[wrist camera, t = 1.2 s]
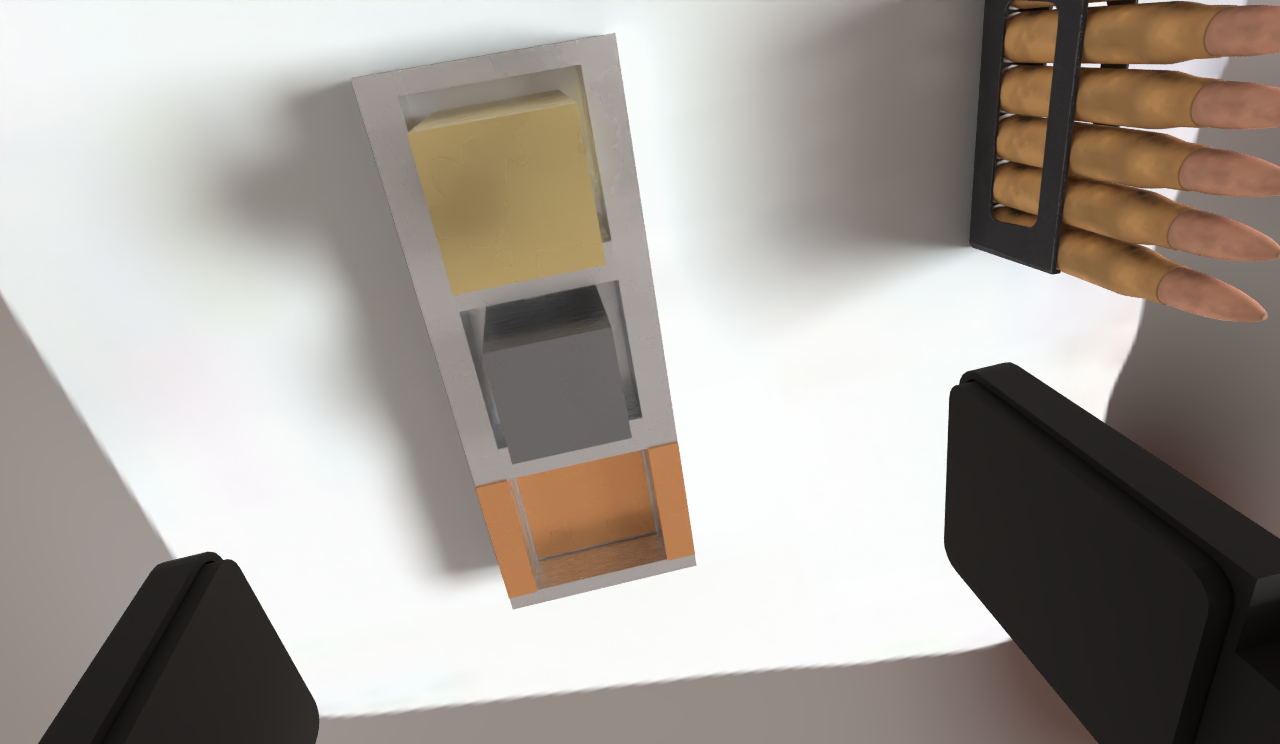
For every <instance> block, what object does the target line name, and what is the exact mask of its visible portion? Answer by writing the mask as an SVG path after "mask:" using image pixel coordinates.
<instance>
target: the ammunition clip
mask: <svg viewBox="0 0 1280 744" xmlns="http://www.w3.org/2000/svg"><path fill="white" fill-rule="evenodd" d="M1104 1H1107V5H1108V6H1098V7H1088V3H1093V2H1104ZM1053 6H1056V8H1057V9H1054V10H1052V8H1053ZM1279 52H1280V6H1267V5H1249V6H1237V5H1206V4H1201V3H1196V2H1187V1H1171V2H1157V3H1142V4H1138V0H985V8H984V24H983V39H982V55H981V70H980V85H979V101H978V116H977V132H976V147H975V162H974V178H973V193H972V209H971V224H970V240H969V243H970V244H971V246H972V247H973V248H976V249H979V250H982V251H985V252H988V253H991V254H994V255H996V256H999V257H1002V258H1005V259H1008V260H1011V261H1014V262H1017V263H1020V264H1023V265H1026V266H1029V267H1032V268H1035V269H1038V270H1041V271H1044V272H1046V273H1049V274H1058V273H1060V272H1061V271H1062V272H1064V273H1067V274H1069V275H1072V276H1075V277H1077V278H1080V279H1082V280H1085V281H1087V282H1090V283H1093V284H1095V285H1098V286H1100V287H1103V288H1105V289H1108V290H1111V291H1113V292H1116V293H1118V294H1121V295H1125V296H1131V297H1138V298H1145V299H1148V300H1151V301H1154V302H1157V303H1160V304H1163V305H1169V306H1172V307H1175V308H1178V309H1180V310H1183V311H1186V312H1189V313H1192V314H1196V315H1201V316H1205V317H1208V318H1214V319H1219V320H1226V321H1236V322H1256V321H1263V320H1265V319H1267V317H1268V315H1267V313H1266V311H1265V310H1264V309H1263V308H1262V307H1261V306H1260V304H1258V303H1257V302H1256V301H1255V300H1254V299H1252V298H1251V297H1249V296H1248V295H1246V294H1245V293H1243V292H1242V291H1240V290H1238V289H1236V288H1235V287H1233V286H1231V285H1229V284H1227V283H1225V282H1223V281H1221V280H1218V279H1216V278H1214V277H1211V276H1209V275H1207V274H1204V273H1201V272H1199V271H1196V270H1192V269H1190V268H1188V267H1186V266H1184V265H1182V264H1179V263H1176V262H1174V261H1171V260H1168V259H1166V258H1165V257H1163V256H1161V255H1160V254H1158V253H1156V252H1155V251H1153V250H1151V249H1149V248H1147V247H1144V246H1141V245H1138V244H1144V245H1156V246H1160V247H1164V248H1168V249H1173V250H1181V251H1185V252H1188V253H1192V254H1196V255H1199V256H1204V257H1210V258H1216V259H1222V260H1233V261H1267V260H1274V259H1278V258H1280V246H1279V245H1278V244H1277V243H1276V242H1275V241H1274V240H1272V239H1271V238H1269V237H1268V236H1266V235H1264V234H1262V233H1261V232H1259V231H1257V230H1255V229H1253V228H1251V227H1249V226H1247V225H1245V224H1242V223H1240V222H1237V221H1235V220H1232V219H1229V218H1226V217H1224V216H1221V215H1217V214H1213V213H1209V212H1205V211H1201V210H1199V209H1197V208H1194V207H1191V206H1187V205H1184V204H1180V203H1177V202H1174V201H1172V200H1170V199H1168V198H1166V197H1164V196H1162V195H1160V194H1158V193H1155V192H1152V191H1148V190H1143V189H1139V188H1169V189H1175V190H1182V191H1195V192H1200V193H1205V194H1211V195H1222V196H1234V197H1260V196H1275V195H1280V167H1279V166H1277V165H1274V164H1272V163H1270V162H1268V161H1265V160H1262V159H1259V158H1257V157H1253V156H1250V155H1246V154H1242V153H1238V152H1234V151H1229V150H1222V149H1216V148H1211V147H1209V146H1204V145H1200V144H1195V143H1189V142H1185V141H1183V140H1181V139H1178V138H1176V137H1173V136H1171V135H1168V134H1163V133H1157V132H1149V131H1142V130H1134V129H1127V128H1119V127H1120V126H1127V127H1136V128H1144V129H1167V128H1175V127H1194V128H1207V127H1209V128H1221V129H1261V128H1272V127H1279V126H1280V88H1278V87H1273V86H1268V85H1262V84H1256V83H1249V82H1235V81H1224V80H1222V79H1212V78H1201V77H1196V76H1193V75H1190V74H1187V73H1183V72H1179V71H1169V70H1142V69H1128V66H1129V64H1174V63H1179V62H1184V61H1188V60H1193V59H1206V58H1221V57H1232V56H1255V55H1264V54H1273V53H1279ZM1047 63H1054V64H1053V66H1046V65H1047ZM1081 63H1093V64H1101V67H1100V68H1086V67H1081ZM1043 117H1047V118H1043ZM1074 121H1083V122H1091V123H1093V124H1089V123H1081V122H1074ZM1112 182H1113V183H1112ZM1121 184H1122V185H1121ZM1125 185H1127V186H1125ZM1130 186H1132V187H1130ZM1134 187H1137V188H1134Z"/></svg>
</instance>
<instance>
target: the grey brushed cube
mask: <svg viewBox="0 0 1280 744" xmlns="http://www.w3.org/2000/svg"><path fill="white" fill-rule="evenodd" d="M482 356H483V360H484V364H485V367H486V371H487V374H488V378H489V382H490V385H491V389H492V393H493V396H494V400H495V404H496V407H497V411H498V414H499V418H500V422H501V425H502V429H503V433H504V436H505V440H506V444H507V447H508V451H509V454H510V458H511V462H512V465H513V464H517V463H522V462H526V461H531V460H535V459H540V458H544V457H549V456H553V455H558V454H562V453H567V452H571V451H576V450H580V449H585V448H589V447H594V446H598V445H603V444H607V443H612V442H616V441H621V440H625V439H630V438H632V435H631V430H630V424H629V419H628V414H627V408H626V403H625V397H624V392H623V386H622V381H621V376H620V370H619V365H618V359H617V354H616V348H615V343H614V338H613V332H612V327H611V324H610V322H609V319H608V316H607V314H606V311H605V308H604V306H603V303H602V300H601V298H600V295H599V292H598V290H597V287H596V286H592V287H587V288H582V289H577V290H572V291H567V292H562V293H557V294H552V295H547V296H542V297H537V298H532V299H527V300H522V301H517V302H512V303H508V304H503V305H498V306H493V307H488V308H486V312H485V324H484V335H483V347H482Z"/></svg>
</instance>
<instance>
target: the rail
mask: <svg viewBox="0 0 1280 744" xmlns="http://www.w3.org/2000/svg"><path fill="white" fill-rule="evenodd" d="M350 79H351V83H352V86H353V89H354V92H355V96H356V99H357V102H358V105H359V109H360V112H361V115H362V119H363V122H364V125H365V128H366V132H367V135H368V138H369V141H370V145H371V148H372V151H373V154H374V158H375V161H376V164H377V167H378V171H379V174H380V177H381V180H382V184H383V187H384V190H385V194H386V197H387V200H388V203H389V207H390V210H391V213H392V216H393V220H394V223H395V226H396V229H397V233H398V236H399V239H400V242H401V246H402V249H403V252H404V255H405V259H406V262H407V265H408V269H409V272H410V275H411V278H412V282H413V285H414V288H415V291H416V295H417V298H418V301H419V304H420V308H421V311H422V314H423V317H424V321H425V324H426V327H427V330H428V334H429V337H430V340H431V344H432V347H433V350H434V353H435V357H436V360H437V363H438V366H439V370H440V373H441V376H442V379H443V383H444V386H445V389H446V392H447V396H448V399H449V402H450V405H451V409H452V412H453V415H454V419H455V422H456V425H457V428H458V432H459V435H460V438H461V441H462V445H463V448H464V451H465V454H466V458H467V461H468V464H469V467H470V471H471V474H472V477H473V480H474V484H475V489H476V492H477V495H478V499H479V502H480V505H481V508H482V512H483V515H484V518H485V521H486V525H487V528H488V531H489V534H490V538H491V541H492V544H493V547H494V551H495V554H496V557H497V560H498V564H499V567H500V570H501V573H502V577H503V580H504V583H505V586H506V590H507V593H508V596H509V598H510V601H511V604H512V608H513V609H517V608H521V607H525V606H529V605H533V604H538V603H542V602H546V601H550V600H554V599H558V598H563V597H567V596H571V595H575V594H579V593H583V592H588V591H592V590H596V589H600V588H604V587H608V586H613V585H617V584H621V583H625V582H629V581H633V580H638V579H642V578H646V577H650V576H654V575H658V574H663V573H667V572H671V571H675V570H679V569H683V568H688V567H692V566H696V560H695V552H694V545H693V538H692V532H691V525H690V519H689V512H688V506H687V499H686V492H685V486H684V479H683V473H682V466H681V460H680V453H679V446H678V442H677V436H676V429H675V423H674V416H673V409H672V403H671V396H670V390H669V383H668V377H667V370H666V363H665V357H664V350H663V344H662V337H661V331H660V324H659V318H658V311H657V304H656V298H655V291H654V285H653V278H652V272H651V265H650V258H649V252H648V245H647V239H646V232H645V226H644V219H643V213H642V206H641V199H640V193H639V186H638V180H637V173H636V167H635V160H634V153H633V147H632V140H631V134H630V127H629V121H628V114H627V108H626V101H625V94H624V88H623V81H622V75H621V68H620V62H619V55H618V48H617V42H616V35H615V33H613V34H607V35H601V36H595V37H589V38H583V39H578V40H572V41H566V42H560V43H554V44H548V45H542V46H537V47H531V48H525V49H519V50H513V51H507V52H501V53H496V54H490V55H484V56H478V57H472V58H466V59H460V60H455V61H449V62H443V63H437V64H431V65H425V66H419V67H413V68H408V69H402V70H396V71H390V72H384V73H378V74H372V75H367V76H361V77H355V78H350ZM553 90H560V91H562V92H563V93H564V94H566V95H567V96H568V97H570V98H571V99H572V100H574V101H575V102H576V103H577V106H578V111H579V117H580V122H581V128H582V134H583V139H584V145H585V150H586V156H587V161H588V167H589V172H590V178H591V183H592V189H593V194H594V200H595V206H596V211H597V217H598V222H599V228H600V233H601V239H602V244H603V250H604V255H605V261H606V265H603V266H598V267H593V268H588V269H583V270H578V271H573V272H568V273H563V274H558V275H553V276H548V277H543V278H538V279H533V280H528V281H523V282H518V283H513V284H508V285H503V286H498V287H493V288H488V289H483V290H478V291H473V292H468V293H463V294H458V295H453V294H452V291H451V287H450V284H449V280H448V277H447V273H446V270H445V266H444V262H443V259H442V255H441V252H440V248H439V245H438V241H437V238H436V234H435V231H434V227H433V224H432V220H431V217H430V213H429V209H428V206H427V202H426V199H425V195H424V192H423V188H422V185H421V181H420V178H419V174H418V171H417V167H416V164H415V160H414V157H413V153H412V149H411V146H410V142H409V139H408V135H407V133H408V132H409V131H411V130H412V129H413V128H414V127H415V126H417V125H418V124H419V123H420V122H422V121H423V120H424V119H425V118H427V117H428V116H429V115H430V114H432V113H433V112H434V111H440V110H446V109H451V108H457V107H463V106H468V105H474V104H480V103H485V102H491V101H497V100H502V99H508V98H514V97H519V96H525V95H531V94H536V93H542V92H548V91H553ZM592 286H596V287H597V290H598V292H599V295H600V298H601V300H602V303H603V306H604V308H605V311H606V314H607V316H608V319H609V322H610V324H611V327H612V332H613V338H614V343H615V348H616V354H617V359H618V365H619V370H620V376H621V381H622V386H623V392H624V397H625V403H626V408H627V414H628V419H629V424H630V430H631V435H632V438H630V439H625V440H621V441H616V442H612V443H607V444H603V445H598V446H594V447H589V448H585V449H580V450H576V451H571V452H567V453H562V454H558V455H553V456H549V457H544V458H540V459H535V460H531V461H526V462H522V463H517V464H513V465H512V462H511V458H510V454H509V451H508V447H507V444H506V440H505V436H504V433H503V429H502V425H501V422H500V418H499V414H498V411H497V407H496V404H495V400H494V396H493V393H492V389H491V385H490V382H489V378H488V374H487V371H486V367H485V364H484V360H483V356H482V347H483V335H484V324H485V312H486V308H488V307H493V306H498V305H503V304H508V303H512V302H517V301H522V300H527V299H532V298H537V297H542V296H547V295H552V294H557V293H562V292H567V291H572V290H577V289H582V288H587V287H592Z"/></svg>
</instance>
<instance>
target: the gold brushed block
mask: <svg viewBox="0 0 1280 744" xmlns="http://www.w3.org/2000/svg"><path fill="white" fill-rule="evenodd" d="M407 135H408V139H409V142H410V146H411V149H412V153H413V157H414V160H415V164H416V167H417V171H418V174H419V178H420V181H421V185H422V188H423V192H424V195H425V199H426V202H427V206H428V209H429V213H430V217H431V220H432V224H433V227H434V231H435V234H436V238H437V241H438V245H439V248H440V252H441V255H442V259H443V262H444V266H445V270H446V273H447V277H448V280H449V284H450V287H451V291H452V294H453V295H458V294H463V293H468V292H473V291H478V290H483V289H488V288H493V287H498V286H503V285H508V284H513V283H518V282H523V281H528V280H533V279H538V278H543V277H548V276H553V275H558V274H563V273H568V272H573V271H578V270H583V269H588V268H593V267H598V266H603V265H606V261H605V255H604V250H603V244H602V239H601V233H600V228H599V222H598V217H597V211H596V206H595V200H594V194H593V189H592V183H591V178H590V172H589V167H588V161H587V156H586V150H585V145H584V139H583V134H582V128H581V122H580V117H579V111H578V106H577V103H576V102H575V101H574V100H572V99H571V98H570V97H568V96H567V95H566V94H564V93H563V92H562V91H560V90H553V91H548V92H542V93H536V94H531V95H525V96H519V97H514V98H508V99H502V100H497V101H491V102H485V103H480V104H474V105H468V106H463V107H457V108H451V109H446V110H440V111H434V112H433V113H432V114H430V115H429V116H428V117H427V118H425V119H424V120H423V121H422V122H420V123H419V124H418V125H417V126H415V127H414V128H413V129H412V130H411V131H409V132H408V133H407Z"/></svg>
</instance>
